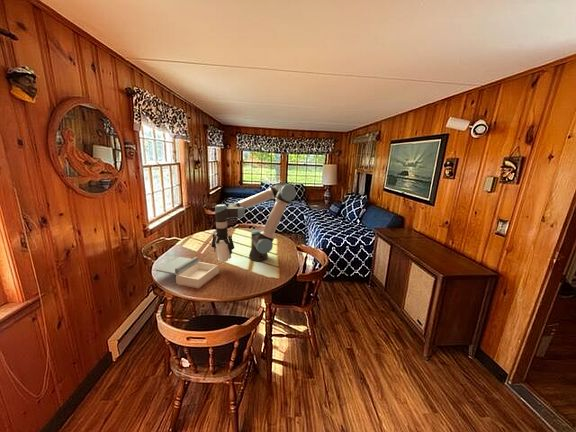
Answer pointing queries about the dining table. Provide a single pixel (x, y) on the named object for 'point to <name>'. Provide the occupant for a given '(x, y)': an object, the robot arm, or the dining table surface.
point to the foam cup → (222, 251)
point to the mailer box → (197, 275)
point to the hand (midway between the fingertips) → (223, 257)
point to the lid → (178, 265)
